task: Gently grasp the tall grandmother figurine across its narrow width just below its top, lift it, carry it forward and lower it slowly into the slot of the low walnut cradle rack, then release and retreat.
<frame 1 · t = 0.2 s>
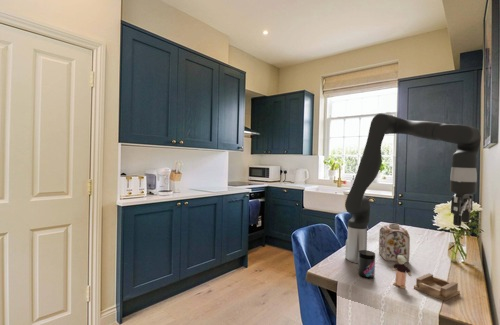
hand: (461, 223, 96), 29 cm above the table, fingers open, 8 cm apart
rack: (436, 290, 104), on the table
decorative jar: (393, 258, 139), on the table
grandmother figurine: (400, 286, 107), on the table
supplement container: (366, 276, 116), on the table
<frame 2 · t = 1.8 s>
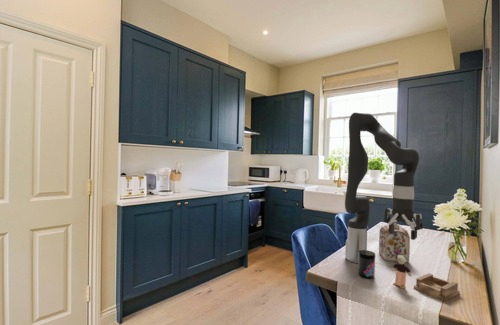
hand: (402, 236, 107), 20 cm above the table, fingers open, 8 cm apart
nothing on the table moved.
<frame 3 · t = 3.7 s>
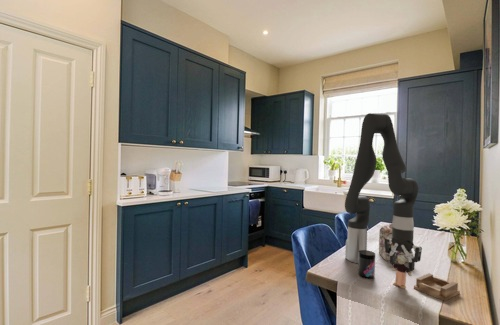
hand: (401, 267, 107), 8 cm above the table, fingers closed on grandmother figurine, 6 cm apart
grandmother figurine: (400, 286, 107), on the table, touching gripper
everything else where it was.
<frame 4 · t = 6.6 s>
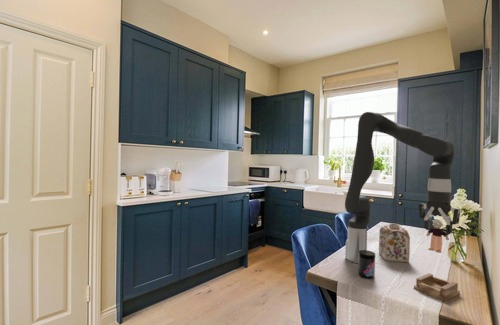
hand: (437, 231, 103), 23 cm above the table, fingers closed on grandmother figurine, 6 cm apart
grandmother figurine: (436, 251, 104), point 16 cm above the table, touching gripper
everything else where it was.
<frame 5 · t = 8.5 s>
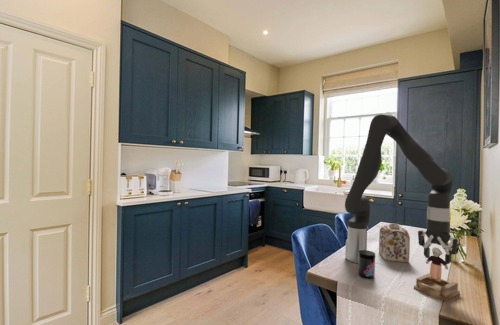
hand: (437, 260, 104), 12 cm above the table, fingers closed on grandmother figurine, 6 cm apart
grandmother figurine: (436, 280, 104), point 4 cm above the table, touching gripper
everything else where it was.
when the fingers open (10 cm above the table, at t = 10.0 s): grandmother figurine drops 1 cm, resting on rack.
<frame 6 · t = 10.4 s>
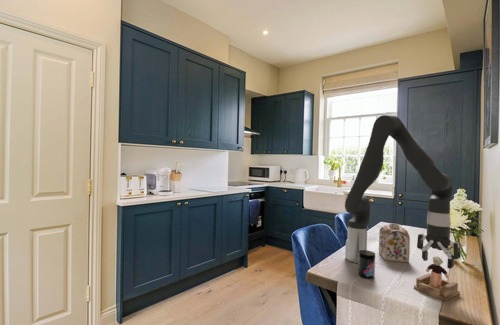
hand: (437, 264, 104), 11 cm above the table, fingers open, 8 cm apart
grandmother figurine: (436, 288, 104), point 1 cm above the table, touching rack
everything else where it was.
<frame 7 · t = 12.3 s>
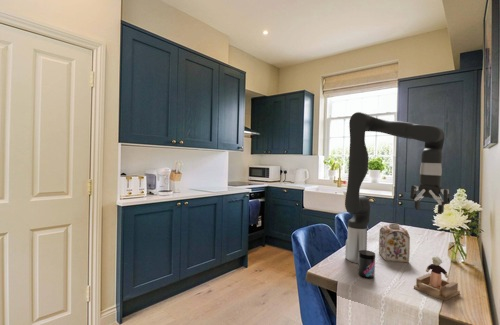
hand: (428, 211, 111), 30 cm above the table, fingers open, 8 cm apart
nothing on the table moved.
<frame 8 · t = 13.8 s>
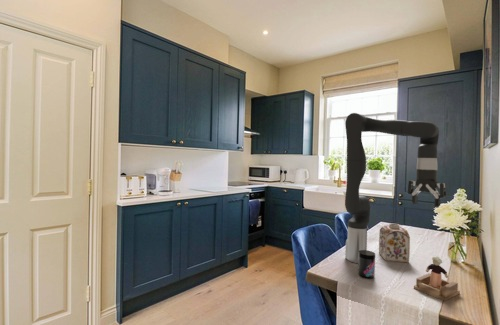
hand: (425, 205, 114), 32 cm above the table, fingers open, 8 cm apart
nothing on the table moved.
at the end: grandmother figurine inside the target area on the rack (0.1 cm from its centre), point 0.8 cm above the rack's base; grandmother figurine tilted 0°; the gripper is holding nothing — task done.
